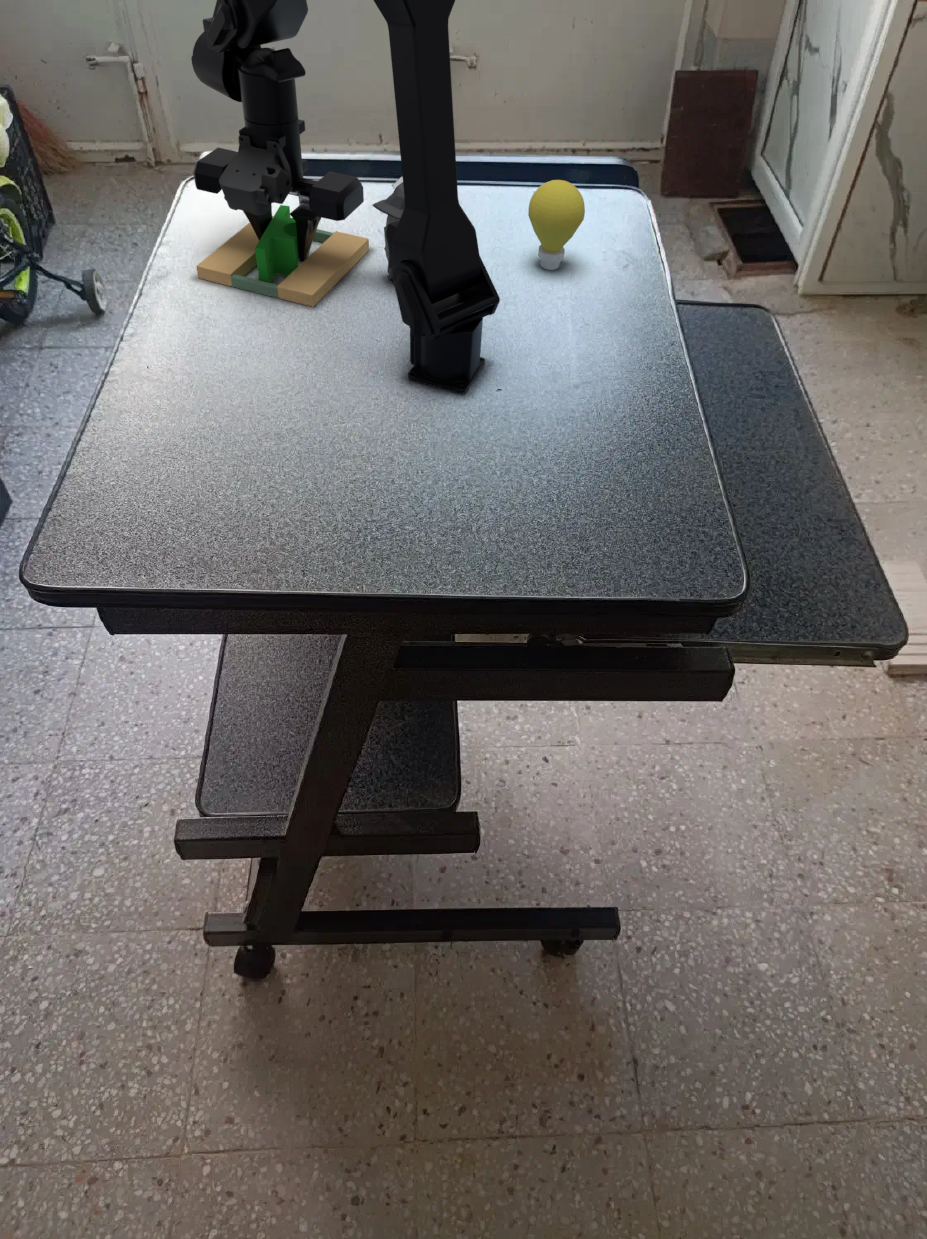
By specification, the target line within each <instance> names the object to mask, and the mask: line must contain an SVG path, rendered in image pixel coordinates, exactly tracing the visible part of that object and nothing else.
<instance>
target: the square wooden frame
mask: <svg viewBox="0 0 927 1239" xmlns="http://www.w3.org/2000/svg"><path fill="white" fill-rule="evenodd" d="M273 217H274V215H272V218H273ZM258 242H259V240H258V238H257V236H256V234H255V232H254V230H253V227H252V226H251V224H250V222H249V223H247V224H246V225H245V226H244V227H242V228H241V229H240V230H239V231H237V232H236V233H235V234H234V235H233V236H231V237H230V238H229V239H228V240H226V241H225V242H224V243H223V244H221V245H220V246H219V247H217V248H216V250H214V251H212V252H211V253H210V254H209V255H208V256H206V257H205V258H204V259H203V260H202V261H200V262H199V263H198V264H197V265H196V266H195V267H196V272H197V278H198V279H200V280H205V281H209V282H212V283H217V284H221V285H224V286H229V287H231V288H232V287H233V288H237V289H241V290H244V291H248V292H252V293H257V294H260V295H264V296H269V297H272V298H276V299H281V300H285V301H289V302H293V303H295V304H300V305H304V306H309V307H312V308H314V307H315V306H316V305H317V304H318V303H319V302H320V301H321V300H322V299H323V298H324V297H325V296H326V295H327V294H328V293H329V292H330V291H331V290H332V289H333V287H335V285H337V284H338V282H339V281H340V280H341V279H342V278H344V276H345V275H346V274H347V273H348V272H349V271H350V270H351V269H352V268H354V266H355V265H356V264H358V262H359V261H360V260H361V259H362V258H363V257H364V256H365V255H366V254H367V253H368V252H369V251H370V239H369V238H367V237H363V236H358V235H356V234H355V235H354V234H350V233H344V232H342V231H338V230H335V231H334V232H331V231H327V230H323V229H318V228H317V230H316V233H315V236H314V239H313V242H318V243H321V245H319V247H317V248H316V249H315V250H314V251H313V252H312V253H311V254H309V255H308V257H307V259H306V260H305V261H304V262H301V263H300V264H298V267H297V268H296V269H295V270H294V271H293V272H292V273H291V274H290V275H287V277H285V278H284V279H283V280H282V281H281V282H280V283H279V284H276V283H272V282H271V283H268V282H264V281H260V280H259V279H255V278H251V277H247V276H246V275H247V274H248V273H249V272H250V271H252V269H254V268H255V267H257V261H256V253H255V247H256V245H257V244H258Z"/></svg>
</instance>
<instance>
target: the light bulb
mask: <svg viewBox="0 0 927 1239" xmlns="http://www.w3.org/2000/svg"><path fill="white" fill-rule="evenodd" d="M585 214H586V207H585V199H584V197H583V195H582V193H581V192H580V190H579V189H578V187H576V186H575V185H574V184H573V183H571V182H569V181H567V180H564V179H563V180H562V179H552V180H549V181H546V182H544V183H542V184H541V185H540V186H539V187H538V188H537V189H536V190H534V193H533V194H532V196H531V197H530V201H529V204H528V214H527V216H528V218H529V220H530V224H531V227H532V230H533V232H534V234H535V236H536V238H537V239H538V241H539V243H540V245H539V246H538V250H537V251H538V253H537V257H538V258H539V259H540V267H541V268H543V269H545V270H550V271H553V270H557V269H559V267H560V264H561V261H563V260H564V259H565V254H566V252H565V251H566V249H565V248H564V246H565V245H566V244H567V243H568V242H569V241H570V240H571V239H572V238H573V236H574V235H575V233H576V232H577V230H578V229H579V227H580V226H581V224H582V223H583V221H584V219H585Z"/></svg>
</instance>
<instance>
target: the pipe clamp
mask: <svg viewBox="0 0 927 1239" xmlns="http://www.w3.org/2000/svg"><path fill="white" fill-rule="evenodd" d="M290 213H291V209H290V205H284V204H279V206H278V208H277V210H276V211H275V214H274V215H273V216H274V217H273V218H272V220H271V222H270V223H269V225H268V227H267V229H266V230H265V232H264V234H263V235H262V237H261V239H260V240H259V242H258V244H257V245H256V247H255V253H256V261H257V265H256V268H257V276H258V277H257V278H258V280H260V281H264V282H268V283H272V282H273V280H274V278H275V276H276V275H281V276H289V275H290V274H291V273H292V272H293V271H294V270H295V269H296V268H297V267H298V266H299V261H298V260H300V259H299V254H298V244H297V230H296V221H295V220H294V219H293V218H292V217H291V215H290Z"/></svg>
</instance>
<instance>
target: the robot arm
mask: <svg viewBox="0 0 927 1239" xmlns="http://www.w3.org/2000/svg"><path fill="white" fill-rule="evenodd" d="M307 2H308V1H307V0H216V2H215V6H214V10H213V14H212V17H207V18H203V19H202V26H203V32H202V33H201V34H200V35H199V36H198V37H197V39H196V40H195V43H194V45H193V48H192V55H191V59H190V60H191V66H192V68H193V72H194V74H195V76H196V77H197V79H198V80H199V81H200V82H201V83H202V84H204V85H205V86H207V87H209V88H211V89H212V90H214V91H216V92H218V93H220V94H221V95H223V96H225V97H227V98H228V99H230V100H233V101H234V102H238V103H241V104H242V105H241V106H242V112H243V120H244V121H243V122H244V127H242V128H240V129H239V130H238V150H232V149H227V148H222V147H216V148H215V149H213V150H212V151H210V152H209V153H208V154H206V155H205V156H203V157H201V158H200V159H199V160H197V161H196V162H195V164H194V168H193V172H192V174H193V178H194V185H195V188H196V190H198V191H202V192H207V193H212V194H219V193H220V192H221V191H222V193H223V199H224V200H225V201H226V203H227V206H228V208H229V209H230V210H232V211H238V210H240V211H242V213H244V215H245V217H246V218H247V220H248V222H249V223H250V224H251V226H252V227H253V230H254V232H255V234H256V236H257V238H258V240H260V239H261V237H262V235H263V234H264V232H265V230H266V229H267V227H268V225H269V223H270V222H271V220H272V216H273V209H272V208H273V206H272V204H274V203H275V204H279V205H284V203H285V200H286V199H287V197H288V195H290V196H294V197H297V198H298V206H297V207H296V208H294V209H293V210H292V211H290V217H291V218H293V219H294V220H295V221H296V230H297V244H298V254H299V259H298V260H299V262H301V263H303V262H304V261H305V260H306V259H307V258H308V257H309V255H310V251H311V248H312V244H313V242H314V240H313V239H314V236H315V233H316V230H317V229H318V227H319V224H320V222H321V219H327V220H330V221H336V222H339V221H340V222H341V221H345V220H346V219H347V218H348V217H349V216H351V214H352V213H353V212H354V211H355V210H357V209H358V208H359V207H360V206H361V205H362V204H363V203H364V202H365V199H364V186H363V183H362V182H361V181H360V179H359V178H358V176H353V175H349V174H344V173H338V172H334V171H331V170H330V171H328V172H327V173H326V174H325V175H323V176H322V177H321V178H320V179H318V178H314V179H310V178H305V177H304V174H305V173H306V172H307V171H308V170H309V159H305V158H303V157H302V156H303V155H302V143H301V134H303V133H304V132H306V123H305V122H306V120H305V119H299V110H298V99H297V97H298V96H297V86H296V85H297V84H296V79H298V78H303V77H305V76H306V69H305V67H304V65H303V63H302V62H300V60H298V59H297V57H295V56H294V54H293V52H292V50H291V48H290V47H286V48H282V49H277V50H276V49H274V48H271V47H262V46H263V45H266V44H271V43H275V42H276V43H277V42H280V41H284V40H285V41H286V40H289V39H293V38H295V37H296V36H297V35H298V33H299V32H300V30H301V27H302V25H303V24H304V21H305V19H306V17H307V15H308V12H309V7H308V3H307ZM373 2H374V4H375V6H376V8H378V11H379V12H380V14H381V16H382V17H383V18H384V20H385V22H386V24H387V31H388V39H389V40H388V41H389V50H390V60H391V70H392V82H393V91H394V104H395V112H396V122H397V132H398V134H397V135H398V143H399V156H400V167H401V169H402V170H401V174H402V175H401V176H402V177H403V187H404V197H405V208H404V211H403V213H402V216H401V219H400V220H398V221H395V222H392V223H389V224H388V225H387V230H386V238H387V243H388V248H389V264H388V263H387V268H388V267H389V268H392V271H393V281H392V282H393V285H394V289H395V290H394V291H395V294H396V295H395V296H396V298H397V303H398V308H399V312H400V317H401V320H402V323H403V324H404V325H407V326H408V327H409V363H410V365H411V366H412V367H411V368H410V370H409V371H408V372H407V379H408V380H410V381H413V382H417V383H420V384H423V385H429V386H432V387H436V388H440V389H444V390H447V391H451V392H454V393H458V394H465V393H467V392H468V390H469V389H470V387H471V385H472V384H473V383H474V381H475V380H476V378H477V377H478V375H479V373H480V372H481V370H482V369H483V368H484V366H485V365H486V359H485V358H484V357H483V356H481V351H482V350H481V349H482V338H483V337H482V336H483V325H484V324H483V322H484V318H485V317H487V316H492V315H494V314H495V313H496V311H497V308H498V307H499V303H500V301H501V298H500V296H499V293H498V290H497V289H496V287H495V285H494V283H493V280H492V279H491V276H490V274H489V272H488V270H487V268H486V266H485V264H484V262H483V260H482V258H481V255H480V250H479V243H478V242H479V241H478V237H477V229H476V228H475V226H474V224H473V223H472V221H471V220H470V218H469V217H468V214H466V212H465V210H464V208H462V206H461V204H460V202H459V200H460V199H459V191H458V175H457V174H458V172H457V154H456V138H455V120H454V104H453V103H454V102H453V86H452V84H453V83H452V68H451V67H452V66H451V53H450V52H451V51H450V34H449V19H450V16H451V13H452V10H453V8H454V6H455V3H456V0H373Z"/></svg>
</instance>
